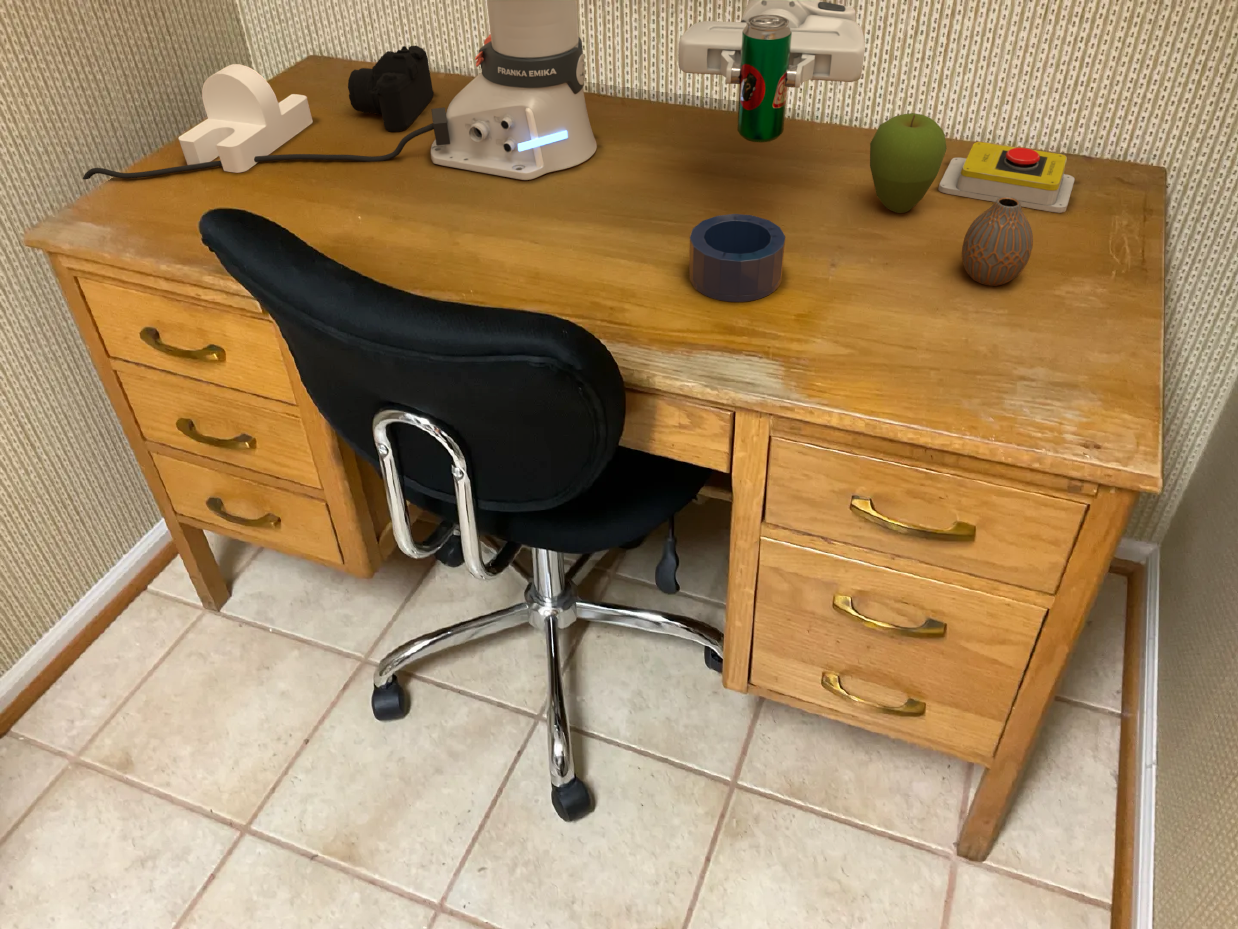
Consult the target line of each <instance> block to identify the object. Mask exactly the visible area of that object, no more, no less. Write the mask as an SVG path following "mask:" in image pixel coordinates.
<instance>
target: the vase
mask: <svg viewBox="0 0 1238 929" xmlns="http://www.w3.org/2000/svg"><path fill="white" fill-rule="evenodd" d="M1033 235H1034V234H1033V230H1032V226H1031V224H1030V222H1029V220H1028V218H1027V216H1026V215H1025V213H1024V211H1023V207H1021V203H1020V201H1019V200H1017V199H1015V198H1012V197H1001V198H998V199H997V200H996V201H995V202H993V204H991V206H990V207H988V208H987V209H986V210H984V211H983V212H982V213H980V214H979V215H978V216H976V218H975V219H973V221H972V222H971V224H970V225H969V227H968V229H967V231H966V233H965V235H964V238H963V240H962V245H961V247H962V248H961V260H962V265H963V268H964V269H965V272H966V273H967V275H968V276H969V277H970V278H971V279H972V280H973V281H975V282H976V283H978V284H982V285H985V286H992V287H993V286H996V287H997V286H1002V285H1005V284H1007V283H1009V282H1011V281H1013V280H1014V279H1016V278H1017V277H1018V276H1019V275H1020V274H1021V273H1022V272H1023V270H1024V269H1025V267H1026V266H1027V264H1028V262H1029V260H1030V257H1031V255H1032V251H1033V245H1034V237H1033Z"/></svg>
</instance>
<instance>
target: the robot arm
mask: <svg viewBox="0 0 1238 929" xmlns="http://www.w3.org/2000/svg"><path fill="white" fill-rule="evenodd" d="M486 7H487V14H488V16H487V17H488V25H489V32H490V34H488V36H487V37H486V38H485V39H484V41H483V45H482V46H481V47H480V48H479V49H478V54H477V55H476V56H475V58H474V60H475V61H476V62H475V67H480V70H481V71H480V73H478V74H477V75H476V76H475V77H474V78H473V79H472V80H471V81H470V82H469V83H467V84H466V85H465V86H464V87H463V88H462V89H461V90H459V92H458V93H457V94H456V95H455V96H454V97H453V98H452V100H451V101H450V103H449V104H448V107H447V109H446V107H435V108H431V118H432V122H431V123H430V124H427V125H425V126H423V127H421V128H417V129H416V130H413V131H411V132H409V133H408V134H406V135H404V137H402V138H401V140H400V141H399V143H398V145H396V148H394V150H393V151H391V152H390V153H386V154H384V155H378V156H369V155H357V154H323V153H321V154H318V153H288V154H269V155H267V156H256V157H255V158H254V161H255V162H258V163H262V162H263V163H264V162H275V161H305V160H306V161H352V162H362V163H372V162H373V163H375V162H386V161H390V160H393V159H394V158H396V157H398V156H399V155H400V154H401V153H402V151H403V149H404V148H405V145H406V144H407V143H409V142H410V141H411V140H413V139H415V138H417V137H419V136H421V135H423V134H426V133H428V132H430V131H433V133H434V141H433V142H432V144H431V147H430V159H431V162H432V163H433V164H434V165H439V166H444V167H450V168H455V169H460V170H466V171H472V172H478V173H482V174H488V175H494V176H500V177H504V178H505V177H506V178H511V179H516V180H521V181H528V180H529V181H530V180H534V179H536V178H539V177H541V176H543V175H545V174H549V173H552V172H556V171H557V172H558V171H562V170H566V169H570V168H573V167H575V166H578V165H580V164H582V163H584V162H586V161H588V160H589V159H590V158H591V157H592V156H593V155H595V153H596V151H597V148H598V143H597V141H596V137H595V135H594V133H593V129H592V126H591V123H590V118H589V115H588V114H589V113H588V108H587V104H586V99H585V98H586V97H585V92H584V86H585V81H586V68H585V67H586V65H585V54H584V49H583V41H582V38H581V37H580V36H579V25H578V24H579V22H578V3H577V0H486ZM856 14H857V13H856V9H855V8H853V7H851V6H847V5H842V4H837V3H832V2H827V1H824V0H748V2H747V5H746V7H745V8H744V11H743V14H742V17H741V19H740V21H724V20H723V21H722V20H721V21H720V20H702V21H698V22H695V23H693V24H692V25H691V26H689V27H688V28H687V29H686V30H685V31H684V32H683V33H682V35H681V36H680V38H679V41H678V51H677V52H678V53H677V58H678V59H677V61H678V62H677V63H678V69H679V70H680V71H682V72H683V73H685V74H692V75H693V74H694V75H695V74H696V75H713V76H714V75H715V76H723V77H724V78H725V83H726V84H727V85H740V71H741V68H740V67H741V48H742V31H743V30H744V28H745V27H746V25H747V24H746V22H747V20H748V19H749V18H751V17H753V16H757V15H778V16H782V17H785V18H786V19H788V20H789V28H790V29H791V31H792V37H791V49H790V61H789V69H788V71H787V81H786V87H787V88H796V89H797V88H799V89H800V88H801V84H803V83H805V82H807V81H824V82H827V81H828V82H839V83H840V82H841V83H843V82H844V83H855V82H856V81H859V80H860V79H862V72H863V66H864V60H865V52H866V51H865V50H866V40H865V35H864V31H863V28H862V27H861V25H860V24H859V23H858V22H856V18H857V17H856ZM217 167H223V166H222V163H221V160H220V159H219V160H212V161H211V162H206V163H199V164H192V165H187V164H186V165H177V166H173V167H166V168H159V169H153V170H146V171H138V172H119V171H115V170H112V169H108V168H104V167H93V168H90V169H88V170H87V171H86V172H85V174H84V175H83V177H82V180H89V179H91V178H92V177H93V176H94V175H96V174H100V175H105V176H109V177H112V178H117V179H123V180H129V179H143V178H150V177H157V176H164V175H170V174H176V173H185V172H190V171H197V170H204V169H212V168H217Z"/></svg>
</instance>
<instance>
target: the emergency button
mask: <svg viewBox="0 0 1238 929" xmlns="http://www.w3.org/2000/svg"><path fill="white" fill-rule="evenodd" d="M1067 161H1068V157H1067V156H1066V155H1065V154H1061V153H1056V152H1049V151H1042V150H1035V149H1031V148H1028V147H1027V148H1026V147H1015V146H1011V145H1004V144H997V143H991V142H983V141H977V142H974V143H973V144H972V146H971V149H970V150H969V152H968V154H967V157H953V158H951V160H950V162H949V164H948V166H947V167H946V170H945V172H944V174H943V176H942V178H941V180H940V182H939V185H938V191H939V192H940V193H943V194H947V195H951V196H959V197H965V198H969V199H976V200H980V201H981V200H982V201H987V202H993V203H995V201H996V200H997V199H998V198H1001V197H1012V198H1015V199H1017V200H1019V201H1020V203H1021V207H1022V208H1028V209H1035V210H1038V211H1039V210H1040V211H1046V212H1050V213H1051V212H1052V213H1058V214H1061V213H1065V212H1066V211H1067V208H1068V205H1069V202H1070V197H1071V194H1072V190H1073V188H1074V185H1075V184H1074V183H1075V181H1076V179H1075V177H1074V176H1073V175H1070V174H1067V173H1066V174H1065V170H1066V165H1067Z"/></svg>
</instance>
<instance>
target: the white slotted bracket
mask: <svg viewBox="0 0 1238 929" xmlns="http://www.w3.org/2000/svg"><path fill="white" fill-rule="evenodd" d="M201 99H202V103H203V107H204V111H205V114H206V116H207V119H204V120H203V121H201V122H200V123H198V124H196V125H195V126H193V127H192V128H191V129H189V130H187V131H186V132H184V133H183V134H180V136H178V142H179V144H180V148H181V151H182V153H183V156H184V159H185V162H186V165H192V164H199V163H206V162H213V161H215V159H217V158H219V161H220V160H221V163H222V166H221V167H222V169H223V171H224V172H230V173H238V174H239V173H244V172H247V171H249V170H250V169H252V167H254V166H255V165H257V164H258V163H259V162H255V161H254V158H255V157H256V156H267V155H271V154H272V153H274V152H275V151H276V150H277V149H279V148H280V147H281V146H283V145H284V144H287V142H289V141H290V140H291V139H293V138H294V137H296V136H297V135H298V134H300V133H301V132H302V131H304V130H305V129H306V128H308V127H309V126H310V125H313V117H312V113H311V109H310V105H309V104H310V103H309V101H308V96H306V95H303V94H296V93H291V94H290V95H288V96H287V97H286V98H284V99H282V100H281V101H279V100H278V99H277V96H276V94H275V91H274V90H273V88H272V87H271V85H270V83H269V82H268V81H267V80H266V79H265V78H264V76H263V75H261V74H260V73H259V72H257V70H255V69H253V68H251V67H249V66H248V65H243V64H240V63H233V64H229V65H226V66H225V67H223V68H222V69H220V70H218V71H216V72H215V73H213V74H211V75H210V76H208V77H207V78H206V80H205V81H204V82H203V84H202V88H201Z"/></svg>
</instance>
